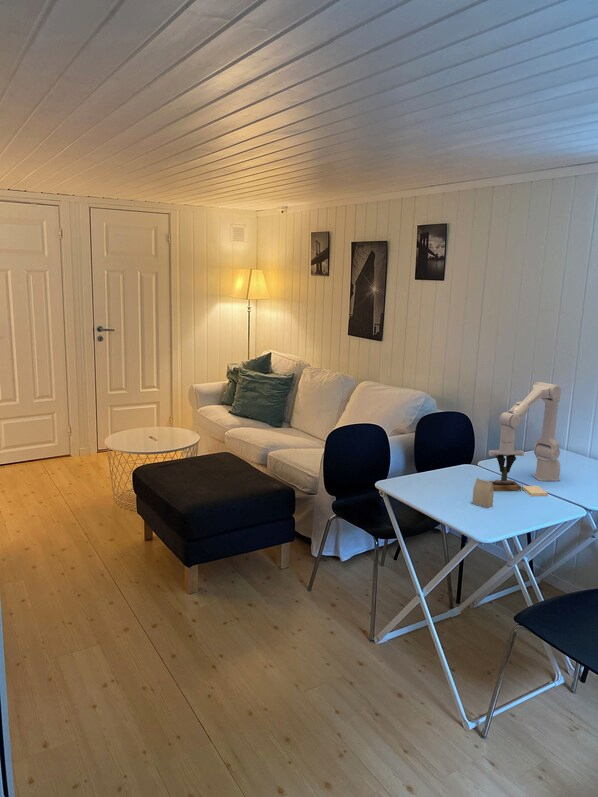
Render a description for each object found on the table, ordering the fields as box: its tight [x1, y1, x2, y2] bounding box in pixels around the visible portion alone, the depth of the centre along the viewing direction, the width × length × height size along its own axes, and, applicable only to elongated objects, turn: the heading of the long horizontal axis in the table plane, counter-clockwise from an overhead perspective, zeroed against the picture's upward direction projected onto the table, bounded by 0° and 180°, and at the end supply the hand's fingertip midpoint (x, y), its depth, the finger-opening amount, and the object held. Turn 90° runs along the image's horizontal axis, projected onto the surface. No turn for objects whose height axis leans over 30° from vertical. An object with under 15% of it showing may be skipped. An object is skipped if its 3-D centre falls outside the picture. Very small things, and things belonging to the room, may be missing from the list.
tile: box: [521, 485, 549, 497], centre depth 258 cm, size 7×2×9 cm
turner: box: [494, 466, 513, 485], centre depth 262 cm, size 7×1×10 cm, turn 94°
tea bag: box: [471, 478, 495, 509], centre depth 242 cm, size 4×7×10 cm, turn 45°
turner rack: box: [488, 480, 522, 492], centre depth 262 cm, size 12×7×2 cm, turn 94°
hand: (504, 471), depth 261 cm, fingers closed on turner, 2 cm apart
